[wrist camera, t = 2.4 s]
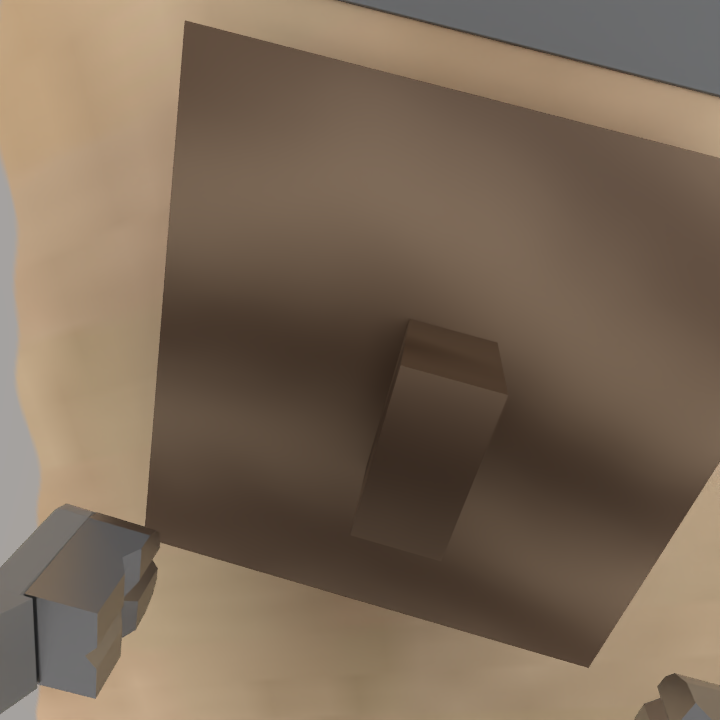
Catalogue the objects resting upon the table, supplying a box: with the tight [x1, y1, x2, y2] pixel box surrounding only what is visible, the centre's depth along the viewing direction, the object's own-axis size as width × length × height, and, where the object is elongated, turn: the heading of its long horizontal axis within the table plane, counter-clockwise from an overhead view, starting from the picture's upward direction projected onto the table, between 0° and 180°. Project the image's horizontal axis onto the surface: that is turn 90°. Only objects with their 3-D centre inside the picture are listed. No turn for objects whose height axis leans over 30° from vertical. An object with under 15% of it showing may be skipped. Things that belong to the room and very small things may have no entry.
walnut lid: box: [145, 21, 720, 668], centre depth 15 cm, size 16×16×4 cm
